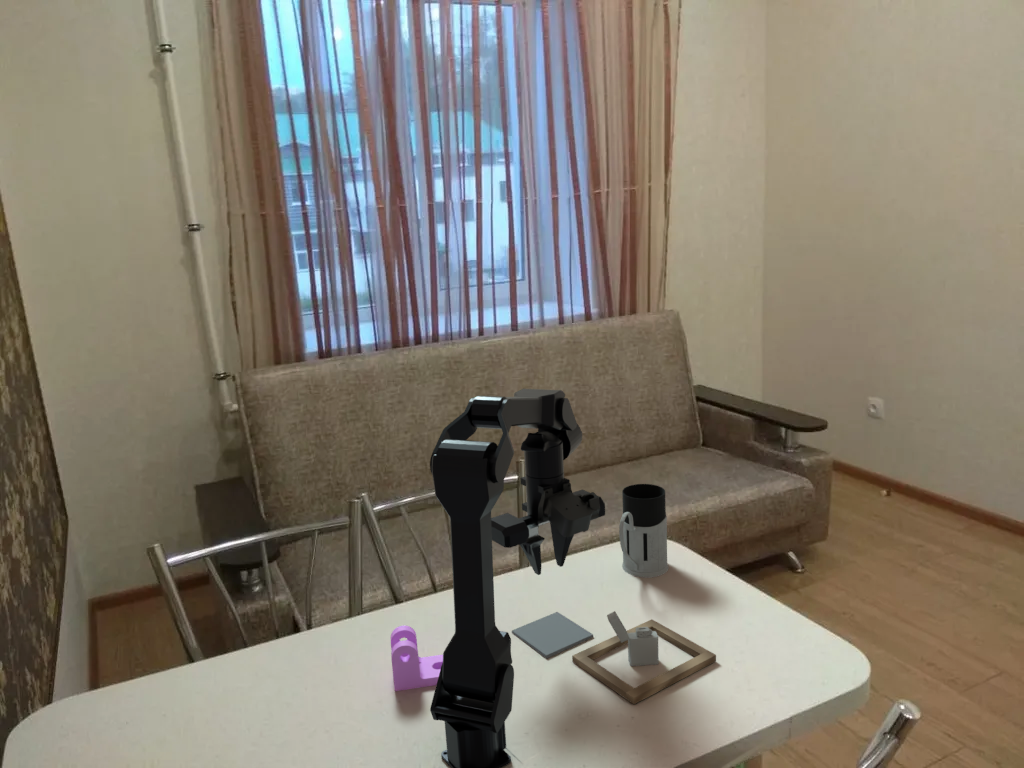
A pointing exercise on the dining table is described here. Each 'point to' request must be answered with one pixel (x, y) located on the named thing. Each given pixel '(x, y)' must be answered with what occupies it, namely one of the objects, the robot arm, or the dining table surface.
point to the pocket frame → (653, 685)
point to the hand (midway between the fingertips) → (549, 569)
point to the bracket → (412, 662)
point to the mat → (552, 634)
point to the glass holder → (644, 531)
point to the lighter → (637, 642)
